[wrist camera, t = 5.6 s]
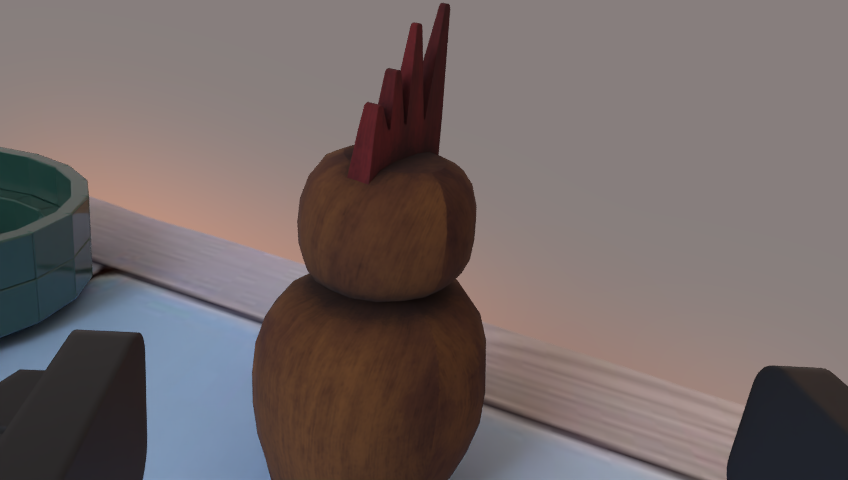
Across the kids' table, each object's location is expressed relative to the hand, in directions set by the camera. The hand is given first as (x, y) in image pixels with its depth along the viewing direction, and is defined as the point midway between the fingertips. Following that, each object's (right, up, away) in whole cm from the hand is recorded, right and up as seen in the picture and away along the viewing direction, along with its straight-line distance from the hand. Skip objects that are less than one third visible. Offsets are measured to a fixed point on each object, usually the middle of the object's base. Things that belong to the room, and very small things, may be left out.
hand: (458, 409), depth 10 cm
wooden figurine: (-3, -6, +14) cm, 16 cm away
